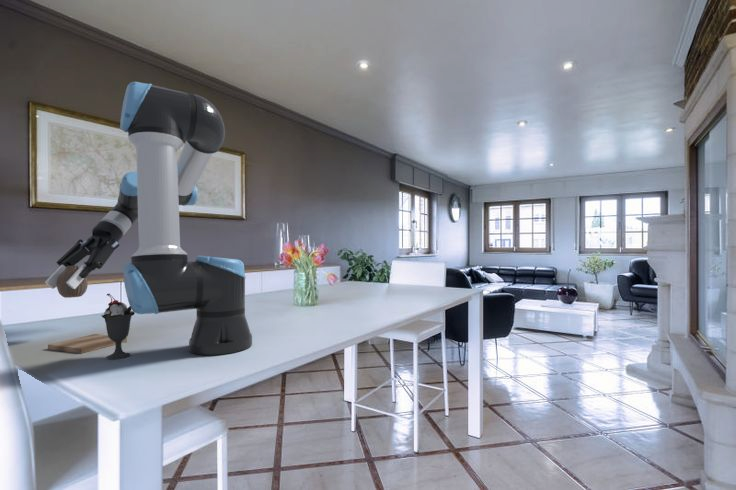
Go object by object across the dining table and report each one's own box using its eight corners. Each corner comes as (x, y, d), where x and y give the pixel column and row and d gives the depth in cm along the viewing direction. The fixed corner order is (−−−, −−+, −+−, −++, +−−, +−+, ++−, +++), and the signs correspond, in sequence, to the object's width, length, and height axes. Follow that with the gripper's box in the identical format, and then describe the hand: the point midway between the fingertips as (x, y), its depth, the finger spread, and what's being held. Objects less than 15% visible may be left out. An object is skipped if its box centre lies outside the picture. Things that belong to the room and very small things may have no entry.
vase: (71, 298, 104) (70, 266, 104) (50, 298, 106) (50, 266, 106) (93, 295, 111) (93, 265, 111) (74, 294, 112) (73, 265, 112)
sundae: (96, 357, 90) (96, 293, 90) (128, 350, 95) (127, 290, 95) (107, 362, 86) (106, 295, 86) (139, 355, 91) (139, 292, 91)
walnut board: (126, 341, 105) (126, 337, 105) (81, 353, 93) (81, 348, 93) (94, 338, 108) (94, 334, 108) (47, 349, 97) (47, 344, 97)
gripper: (144, 236, 121) (97, 294, 105) (94, 237, 125) (42, 293, 110) (130, 219, 116) (78, 277, 100) (78, 220, 120) (21, 276, 105)
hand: (59, 285), depth 105 cm, fingers closed on vase, 7 cm apart
